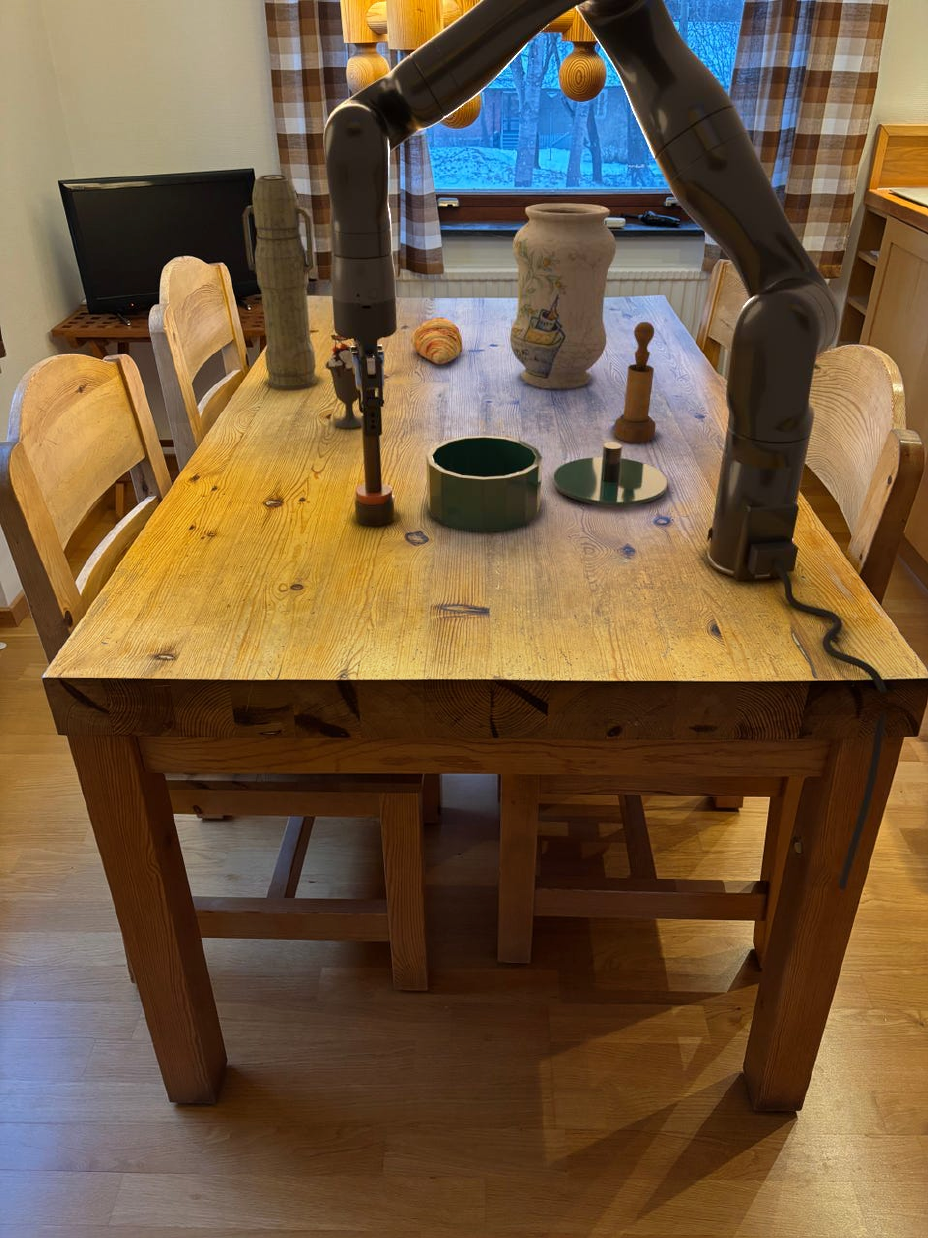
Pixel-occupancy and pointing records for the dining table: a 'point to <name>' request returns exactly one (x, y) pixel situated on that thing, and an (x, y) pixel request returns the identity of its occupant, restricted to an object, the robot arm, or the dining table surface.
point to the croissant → (437, 340)
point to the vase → (561, 292)
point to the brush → (373, 488)
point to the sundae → (344, 384)
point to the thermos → (283, 279)
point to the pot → (484, 483)
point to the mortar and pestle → (638, 393)
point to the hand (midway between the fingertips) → (370, 423)
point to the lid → (610, 479)
